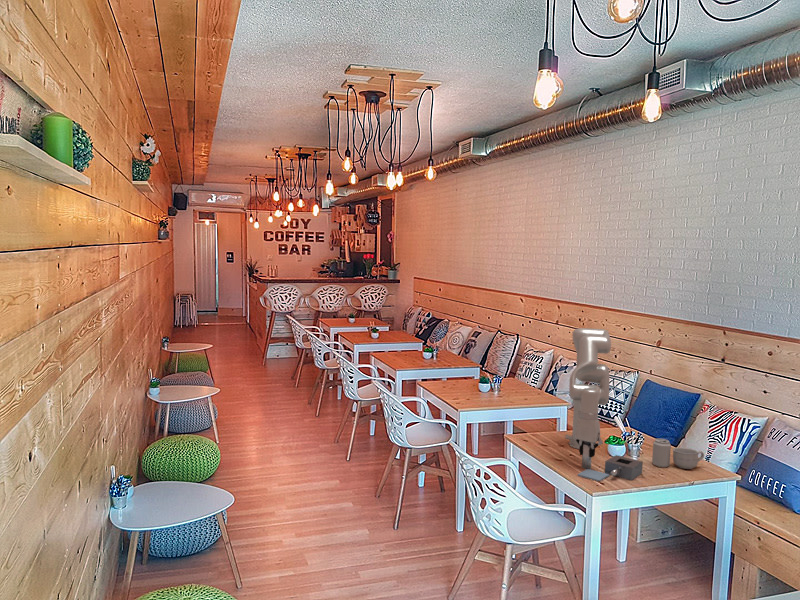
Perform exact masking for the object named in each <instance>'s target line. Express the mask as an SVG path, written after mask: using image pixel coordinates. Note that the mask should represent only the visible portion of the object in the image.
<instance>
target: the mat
mask: <svg viewBox="0 0 800 600" xmlns="http://www.w3.org/2000/svg"><path fill="white" fill-rule="evenodd" d="M577 476H578V477H581V478H584V479H587V478H588V480H590V479H592V480H591V481H594V480H596V481H595V482H598V481H601V480H602V481H604V480H606V479H607V478H608V477H610V475H609V474H606V473H605V472H602V471H598V470H595V469H592V468H591V469H584V470H583V471H580V472H579V473H577ZM606 477H607V478H606ZM605 478H606V479H605ZM603 479H604V480H603ZM602 481H601V482H602Z"/></svg>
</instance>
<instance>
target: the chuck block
mask: <svg viewBox="0 0 800 600" xmlns="http://www.w3.org/2000/svg"><path fill="white" fill-rule="evenodd" d="M604 463H605V464H604V473H606V474H610V475H609V476H612V477H613V476H614V477H617V478H620V477H621V478H620V479H625V480H627V481H628V480H629V481H633V480H635V479H636V478H638V477H640V476H641V475H642V474H643V461H642V460H637V459H634V458H629V457H625V456H621V455H617V454H615V455H614V456H612V457H610V458H609V459H607V460H605V461H604ZM640 474H641V475H640ZM637 476H638V477H637ZM634 478H635V479H634Z"/></svg>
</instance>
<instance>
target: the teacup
mask: <svg viewBox="0 0 800 600" xmlns="http://www.w3.org/2000/svg"><path fill="white" fill-rule="evenodd" d="M699 454H701V455H700V457H699ZM704 457H705V453H704V452H703V451H701V450H696V449H693V448H689V447H688V448H686V447H676V448H675V447H674V448H673V449H672V458H673V459H672V461H673V463H674V465H676V466H677V467H678V468H680V469H685V470H692V469H694V468H696V467H697V466H698V463H699V462H700V461H702V460H703V459H704Z"/></svg>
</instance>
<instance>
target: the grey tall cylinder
mask: <svg viewBox="0 0 800 600" xmlns="http://www.w3.org/2000/svg"><path fill="white" fill-rule="evenodd" d="M590 449H591V443H590V442H586V441H583V453H582V455H581V456H582V457H581V469H583V468H584V470H586V469H591V470H592V458H591V457H590Z"/></svg>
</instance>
